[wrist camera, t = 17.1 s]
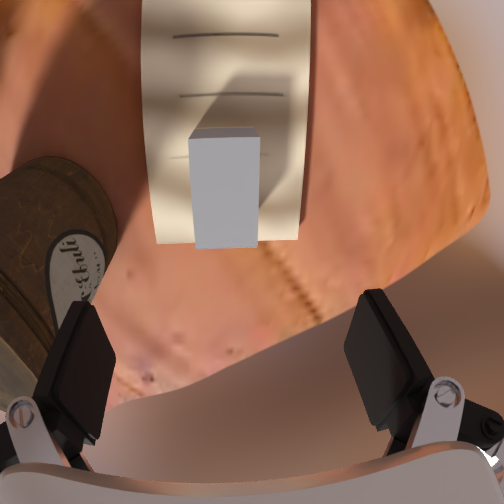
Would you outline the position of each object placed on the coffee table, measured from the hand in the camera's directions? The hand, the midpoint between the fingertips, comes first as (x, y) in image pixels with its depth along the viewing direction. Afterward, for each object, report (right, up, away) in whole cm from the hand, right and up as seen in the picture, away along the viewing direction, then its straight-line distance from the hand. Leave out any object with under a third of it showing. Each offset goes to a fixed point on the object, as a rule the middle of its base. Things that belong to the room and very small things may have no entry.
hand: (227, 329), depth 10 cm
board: (-1, +15, +12) cm, 19 cm away
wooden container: (-20, +6, +16) cm, 26 cm away
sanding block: (-1, +9, +14) cm, 17 cm away
